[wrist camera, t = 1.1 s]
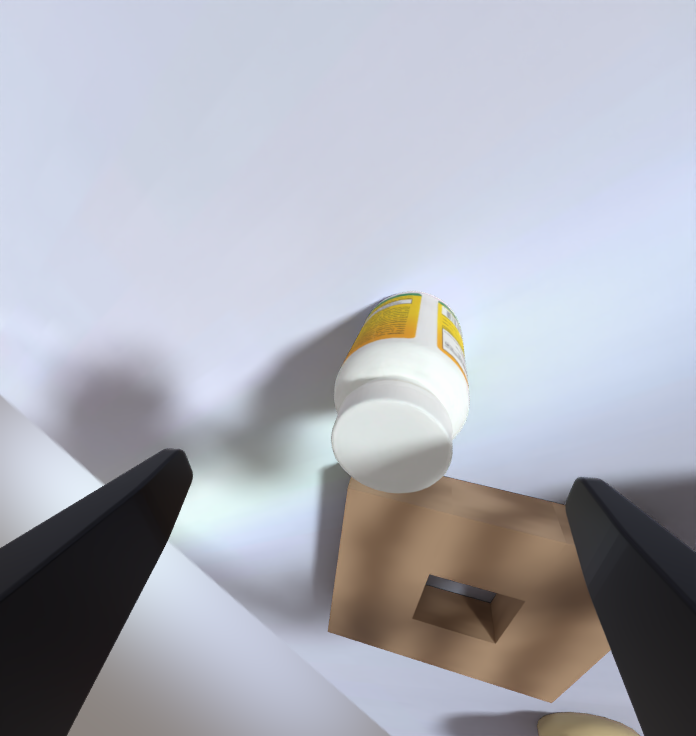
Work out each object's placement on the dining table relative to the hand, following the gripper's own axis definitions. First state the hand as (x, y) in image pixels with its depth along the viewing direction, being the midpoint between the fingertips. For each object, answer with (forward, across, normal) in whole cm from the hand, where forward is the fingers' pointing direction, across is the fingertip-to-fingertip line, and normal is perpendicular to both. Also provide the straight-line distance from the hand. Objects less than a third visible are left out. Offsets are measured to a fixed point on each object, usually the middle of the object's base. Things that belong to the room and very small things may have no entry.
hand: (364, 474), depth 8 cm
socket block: (+11, -7, +23) cm, 26 cm away
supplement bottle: (+12, -1, +2) cm, 13 cm away
